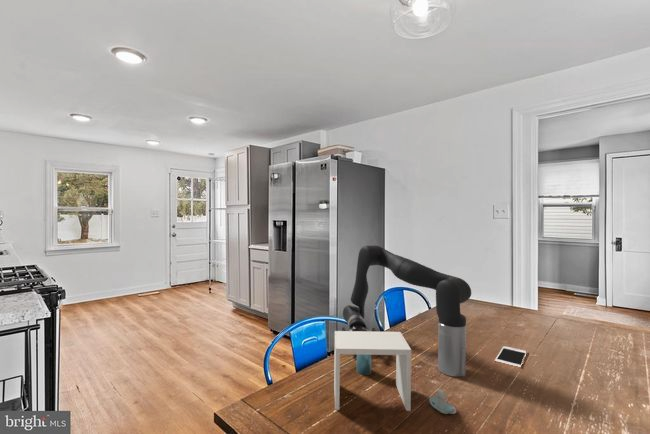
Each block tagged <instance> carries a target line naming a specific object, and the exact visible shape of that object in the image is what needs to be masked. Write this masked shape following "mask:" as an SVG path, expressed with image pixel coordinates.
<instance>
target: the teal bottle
mask: <svg viewBox="0 0 650 434" xmlns="http://www.w3.org/2000/svg"><path fill="white" fill-rule="evenodd" d="M355 366H356V373H357V374H358V375H362V376H368V375H370V374H371V373H372V355H357V354H356V365H355Z"/></svg>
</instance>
